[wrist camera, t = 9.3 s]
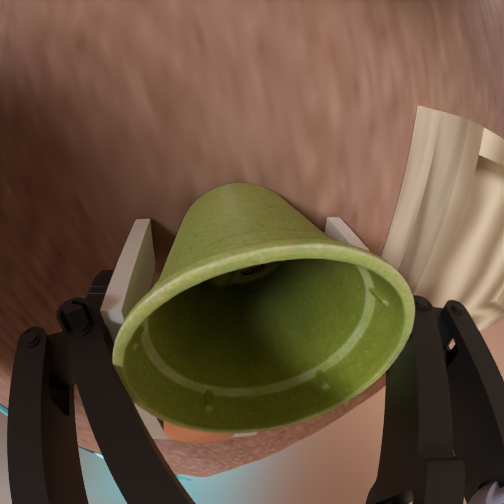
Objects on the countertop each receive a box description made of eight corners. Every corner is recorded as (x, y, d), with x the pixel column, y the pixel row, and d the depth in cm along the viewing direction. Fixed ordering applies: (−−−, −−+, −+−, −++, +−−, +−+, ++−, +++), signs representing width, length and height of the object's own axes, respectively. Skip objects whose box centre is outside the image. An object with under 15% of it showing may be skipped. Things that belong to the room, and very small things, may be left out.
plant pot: (337, 265, 17) (407, 377, 10) (202, 322, 18) (212, 448, 11) (291, 119, 12) (414, 176, 5) (116, 204, 13) (45, 338, 6)
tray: (352, 328, 21) (372, 367, 18) (417, 105, 12) (468, 119, 9) (487, 297, 25) (505, 318, 21) (538, 168, 16) (564, 184, 12)
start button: (169, 411, 20) (170, 443, 17) (158, 382, 17) (156, 420, 14) (230, 409, 20) (235, 441, 18) (231, 379, 18) (236, 418, 15)
